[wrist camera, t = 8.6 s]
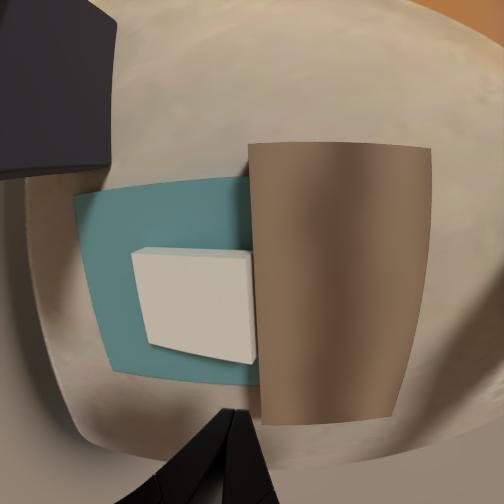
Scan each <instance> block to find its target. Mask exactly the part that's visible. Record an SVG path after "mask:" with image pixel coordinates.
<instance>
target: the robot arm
mask: <svg viewBox="0 0 504 504" xmlns="http://www.w3.org/2000/svg"><path fill="white" fill-rule="evenodd" d="M114 504H279V501H278V498H277V495H276V492H275V491H274V487H273V484H272V481H271V478H270V475H269V472H268V469H267V466H266V463H265V460H264V457H263V454H262V451H261V448H260V444H259V441H258V438H257V435H256V432H255V428H254V425H253V422H252V419H251V415H250V412H249V410H247V409H236V411H235V409H230V408H222V409H221V410H220V411H219V412H218V413H217V414H216V415H215V416H214V417H213V418H212V419H211V420H210V421H209V422H208V423H207V424H206V425H205V426H204V427H203V428H202V429H201V430H200V431H199V432H198V433H197V434H196V435H195V436H194V437H193V438H192V439H191V440H190V441H189V442H188V443H187V444H186V445H185V446H184V447H183V448H182V449H181V450H180V451H179V452H178V453H177V454H176V455H175V456H174V457H172V458H171V459H170V460H169V461H168V462H167V463H166V464H165V465H164V466H163V467H162V468H161V469H159V470H158V471H157V472H156V475H153V476H152V477H150V478H149V479H148V480H147V481H146V482H145V483H143V484H142V485H141V486H140V487H138V488H137V489H136V490H135V491H133V492H132V493H130V494H129V495H127V496H126V497H124V498H123V499H121V500H119V501H118V502H116V503H114Z"/></svg>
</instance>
